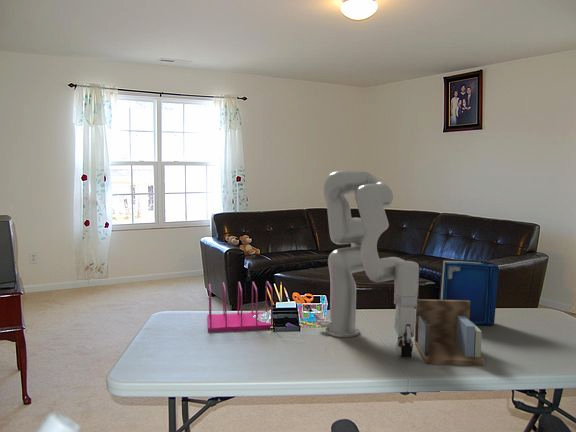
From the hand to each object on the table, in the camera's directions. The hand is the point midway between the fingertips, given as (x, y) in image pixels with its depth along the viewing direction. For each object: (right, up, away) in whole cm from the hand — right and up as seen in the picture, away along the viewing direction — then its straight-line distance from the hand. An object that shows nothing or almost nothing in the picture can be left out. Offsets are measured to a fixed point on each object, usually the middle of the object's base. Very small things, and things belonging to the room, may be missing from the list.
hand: (404, 352), depth 162 cm
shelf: (+15, -1, +1) cm, 15 cm away
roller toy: (0, -1, 0) cm, 1 cm away
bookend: (+7, +1, +2) cm, 7 cm away
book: (+33, +2, +35) cm, 48 cm away
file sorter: (-57, +2, +33) cm, 66 cm away
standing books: (+21, 0, +1) cm, 21 cm away
